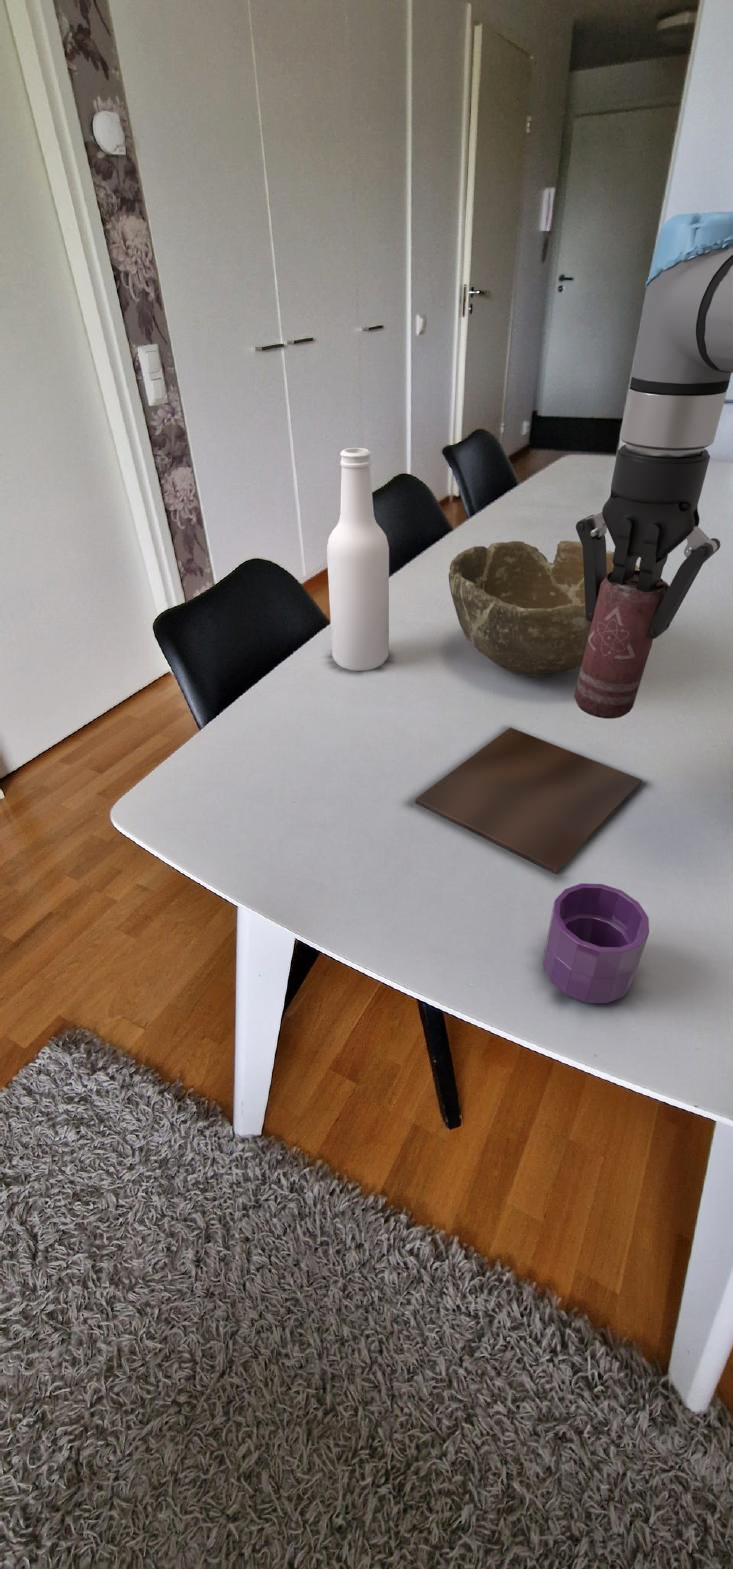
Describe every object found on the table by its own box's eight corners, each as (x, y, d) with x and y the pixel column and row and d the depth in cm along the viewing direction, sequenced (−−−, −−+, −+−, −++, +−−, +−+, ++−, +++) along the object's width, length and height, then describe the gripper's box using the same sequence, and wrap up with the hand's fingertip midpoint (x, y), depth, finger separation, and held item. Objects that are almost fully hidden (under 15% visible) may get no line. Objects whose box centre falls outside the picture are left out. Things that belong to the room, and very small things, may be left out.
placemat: (641, 783, 82) (642, 779, 82) (555, 874, 71) (556, 869, 70) (509, 731, 92) (510, 727, 92) (415, 802, 80) (415, 798, 80)
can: (641, 721, 73) (681, 593, 64) (580, 719, 73) (612, 591, 64) (625, 690, 78) (661, 567, 69) (568, 689, 78) (596, 566, 69)
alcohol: (394, 669, 107) (395, 455, 89) (337, 675, 105) (326, 460, 88) (382, 644, 114) (381, 442, 96) (328, 649, 112) (317, 445, 94)
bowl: (445, 623, 120) (449, 534, 111) (606, 627, 118) (624, 536, 109) (442, 704, 98) (448, 601, 89) (641, 711, 95) (667, 606, 87)
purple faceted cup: (645, 967, 61) (664, 911, 57) (605, 1024, 57) (623, 968, 52) (569, 925, 65) (581, 870, 61) (526, 975, 61) (536, 920, 56)
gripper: (760, 448, 58) (687, 696, 72) (612, 430, 65) (572, 659, 80) (728, 465, 54) (656, 726, 68) (573, 444, 61) (537, 684, 75)
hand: (611, 690), depth 74 cm, fingers closed
